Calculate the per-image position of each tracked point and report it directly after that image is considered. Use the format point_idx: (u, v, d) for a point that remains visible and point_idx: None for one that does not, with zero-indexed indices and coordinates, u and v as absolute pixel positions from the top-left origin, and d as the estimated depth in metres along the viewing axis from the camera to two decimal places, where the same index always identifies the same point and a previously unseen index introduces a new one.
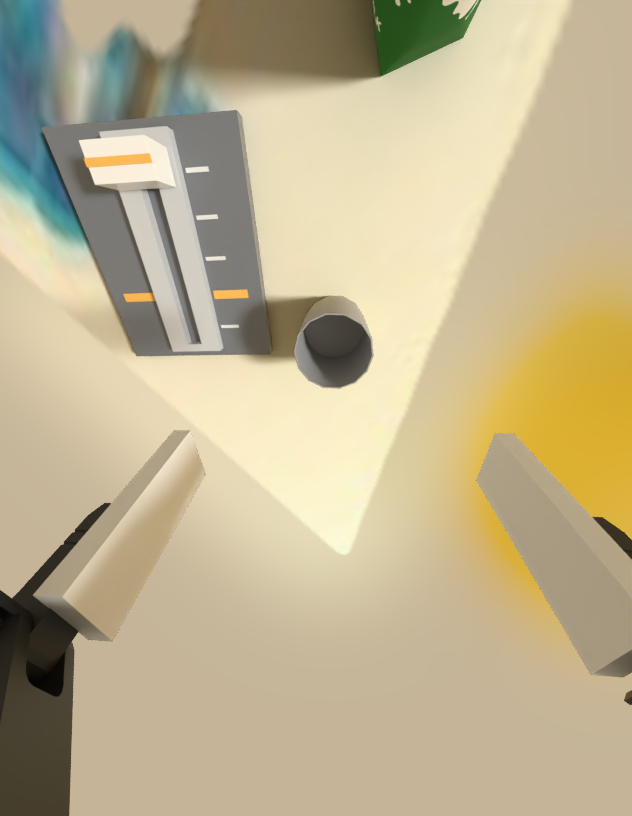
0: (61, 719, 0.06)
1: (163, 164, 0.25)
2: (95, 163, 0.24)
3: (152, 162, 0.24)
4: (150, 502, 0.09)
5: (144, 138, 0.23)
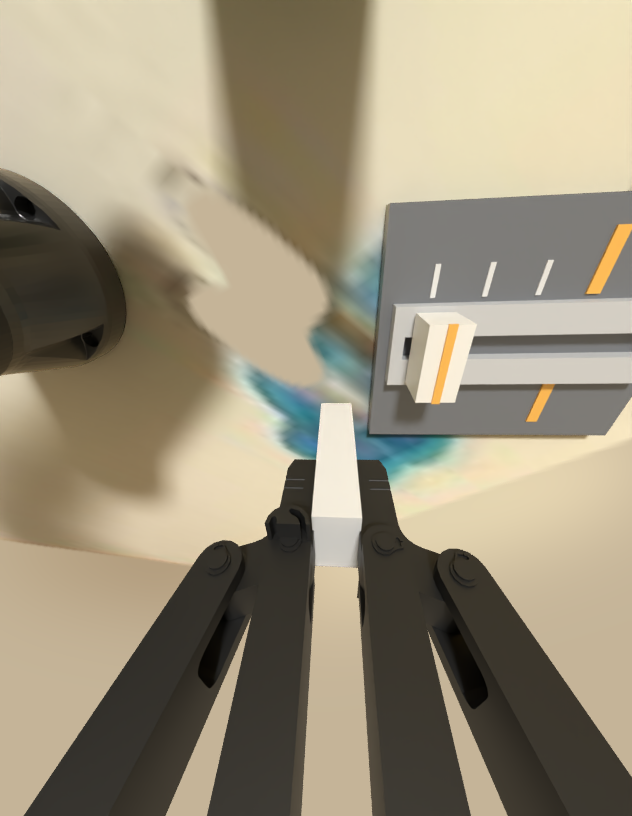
0: (309, 646, 0.07)
1: (442, 317, 0.19)
2: (439, 393, 0.20)
3: (457, 324, 0.18)
4: None
5: (433, 326, 0.18)
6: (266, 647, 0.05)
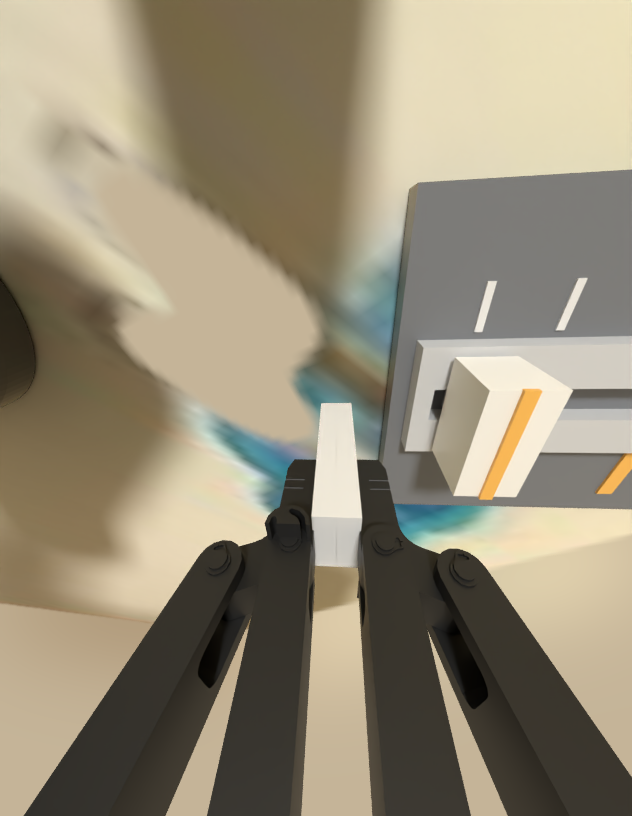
0: (309, 645, 0.07)
1: (501, 368, 0.12)
2: (493, 486, 0.13)
3: (537, 389, 0.10)
4: None
5: (496, 392, 0.10)
6: (266, 647, 0.05)
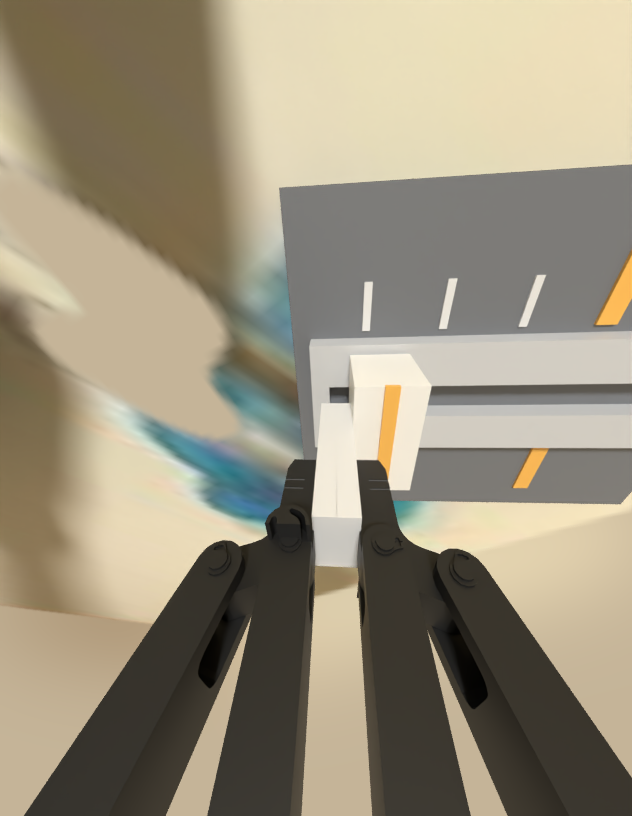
0: (309, 645, 0.07)
1: (384, 365, 0.12)
2: None
3: (399, 385, 0.11)
4: None
5: (360, 388, 0.11)
6: (266, 647, 0.05)
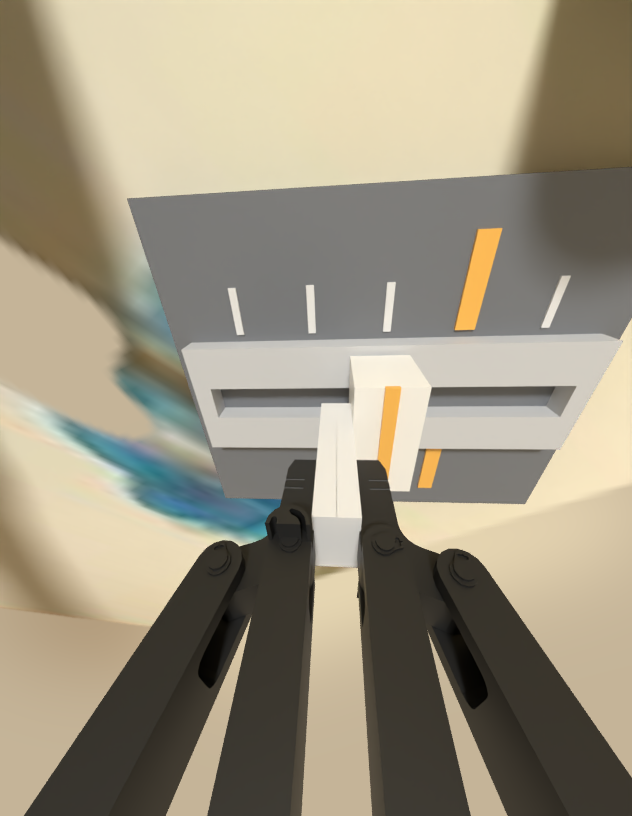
0: (309, 645, 0.07)
1: (384, 366, 0.12)
2: None
3: (399, 386, 0.11)
4: None
5: (360, 389, 0.11)
6: (266, 647, 0.05)
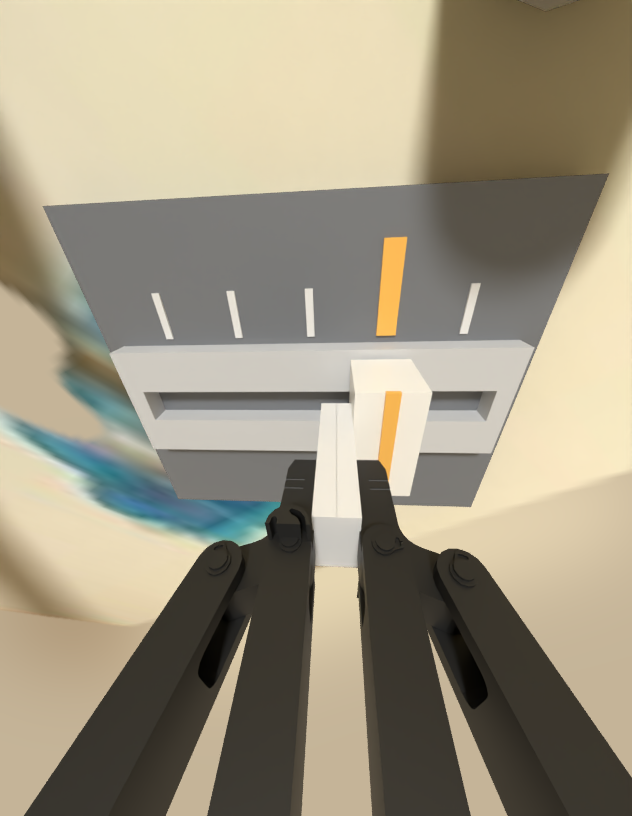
0: (309, 645, 0.07)
1: (384, 370, 0.12)
2: None
3: (400, 391, 0.11)
4: None
5: (361, 394, 0.11)
6: (266, 647, 0.05)
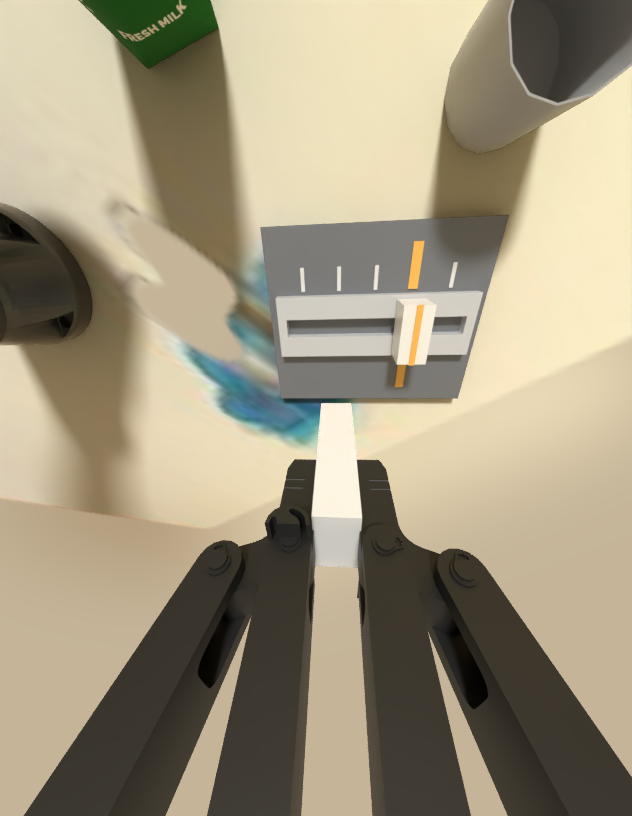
0: (309, 646, 0.07)
1: (415, 301, 0.27)
2: (413, 357, 0.28)
3: (423, 305, 0.25)
4: None
5: (406, 306, 0.25)
6: (266, 647, 0.05)
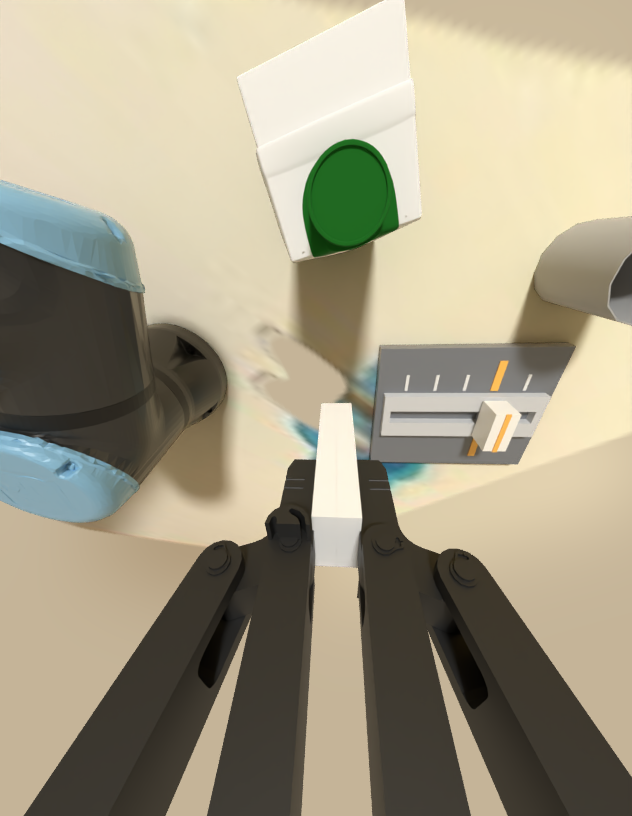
0: (309, 646, 0.07)
1: (500, 406, 0.35)
2: (497, 447, 0.36)
3: (511, 414, 0.33)
4: None
5: (498, 415, 0.34)
6: (266, 647, 0.05)
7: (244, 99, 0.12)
